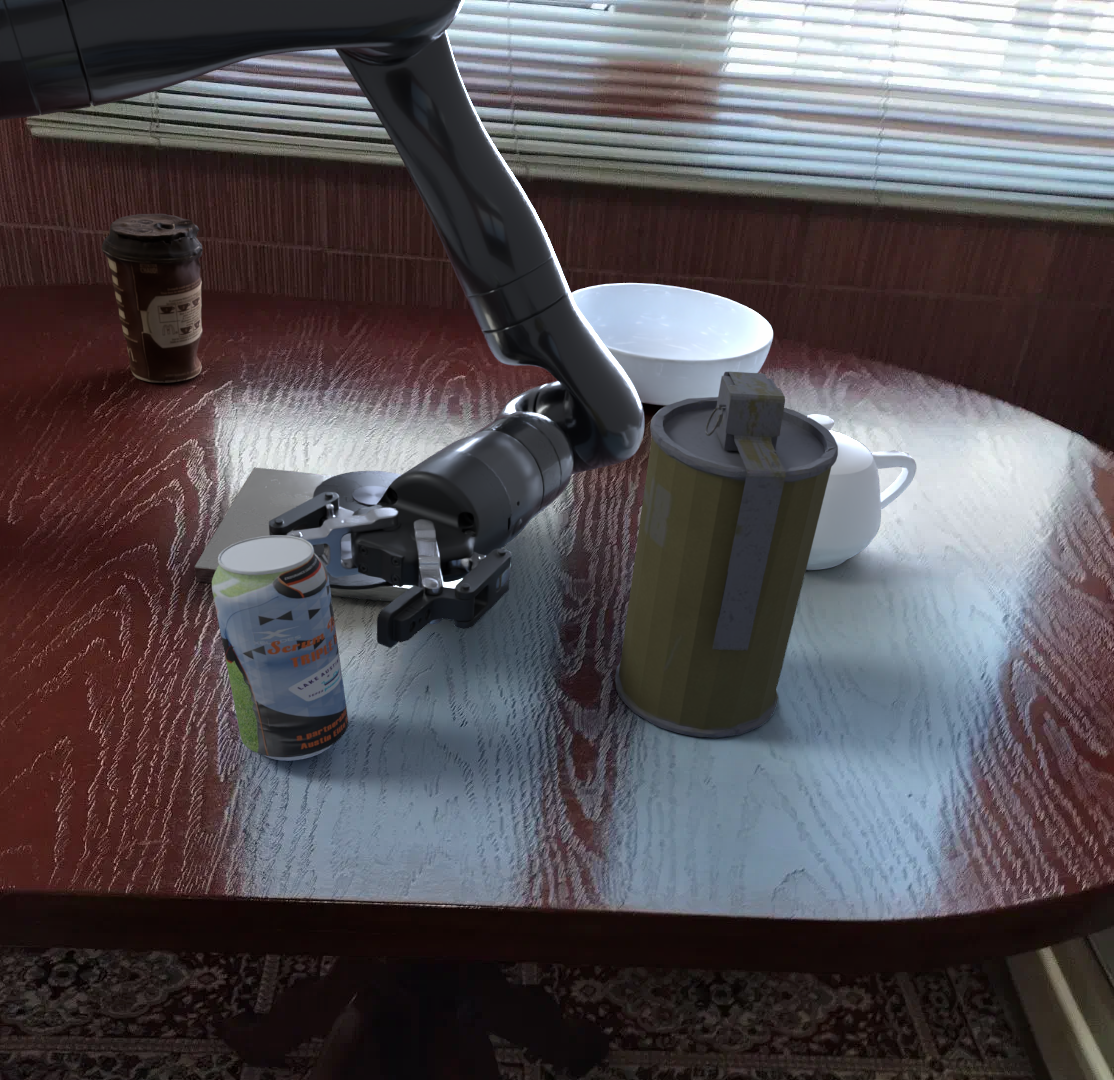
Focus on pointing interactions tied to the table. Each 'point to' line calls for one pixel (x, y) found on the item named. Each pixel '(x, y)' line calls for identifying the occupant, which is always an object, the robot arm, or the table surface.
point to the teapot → (854, 498)
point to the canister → (721, 557)
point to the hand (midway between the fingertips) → (318, 608)
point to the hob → (275, 496)
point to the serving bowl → (675, 337)
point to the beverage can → (280, 646)
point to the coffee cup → (158, 293)
